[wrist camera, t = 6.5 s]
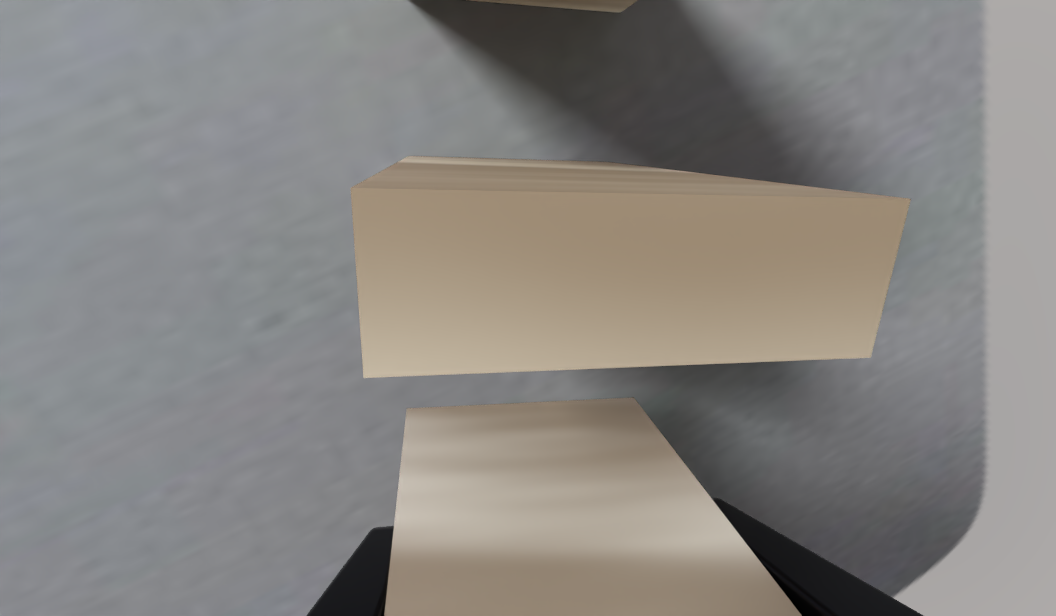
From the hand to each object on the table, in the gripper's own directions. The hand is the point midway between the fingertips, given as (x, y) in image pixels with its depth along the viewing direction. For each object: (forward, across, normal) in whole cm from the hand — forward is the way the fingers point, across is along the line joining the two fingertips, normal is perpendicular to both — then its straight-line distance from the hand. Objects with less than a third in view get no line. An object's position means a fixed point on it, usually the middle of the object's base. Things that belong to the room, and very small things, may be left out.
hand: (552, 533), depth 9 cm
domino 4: (+6, 0, -5) cm, 8 cm away
